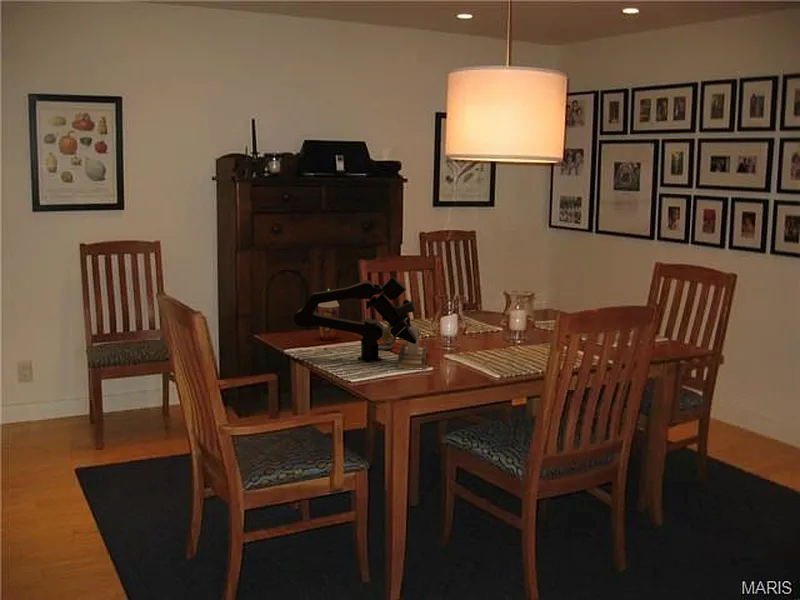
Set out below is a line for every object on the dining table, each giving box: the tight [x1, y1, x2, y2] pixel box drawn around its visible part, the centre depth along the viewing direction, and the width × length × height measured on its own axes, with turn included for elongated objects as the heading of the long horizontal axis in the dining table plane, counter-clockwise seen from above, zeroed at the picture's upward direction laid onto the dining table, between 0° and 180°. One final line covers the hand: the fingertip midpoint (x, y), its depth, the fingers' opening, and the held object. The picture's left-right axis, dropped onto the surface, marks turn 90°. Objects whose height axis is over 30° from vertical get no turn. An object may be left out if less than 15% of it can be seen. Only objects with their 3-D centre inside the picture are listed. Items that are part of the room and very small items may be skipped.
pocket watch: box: [378, 321, 398, 351], centre depth 326 cm, size 8×8×10 cm
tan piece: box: [397, 341, 428, 370], centre depth 309 cm, size 24×9×4 cm, turn 177°
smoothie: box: [317, 288, 340, 341], centre depth 339 cm, size 8×8×20 cm
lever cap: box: [407, 325, 422, 357], centre depth 308 cm, size 4×5×10 cm
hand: (416, 340), depth 308 cm, fingers open, 9 cm apart
